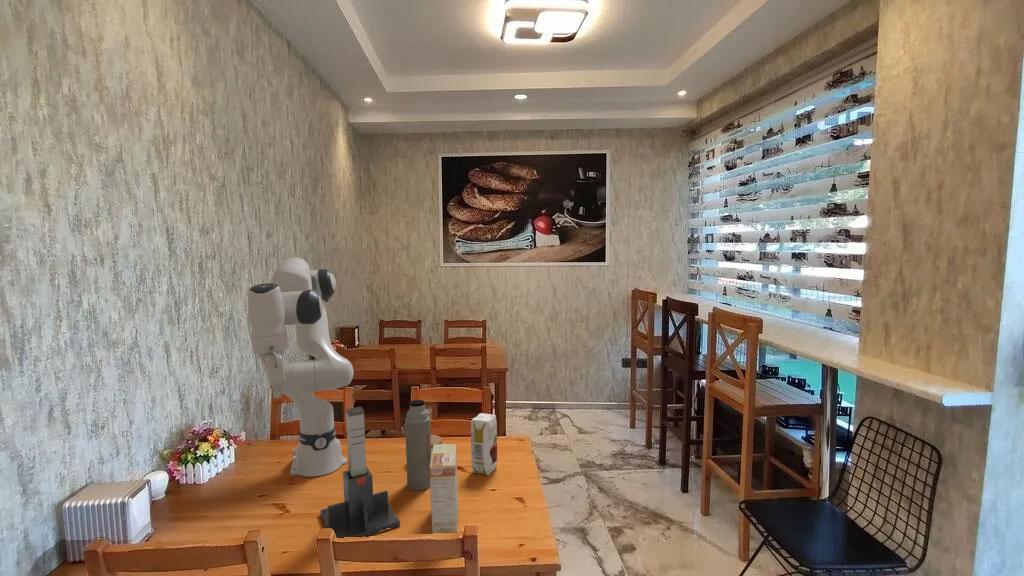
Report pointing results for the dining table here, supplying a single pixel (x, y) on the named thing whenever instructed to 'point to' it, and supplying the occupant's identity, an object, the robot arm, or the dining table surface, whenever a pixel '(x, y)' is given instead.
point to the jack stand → (360, 509)
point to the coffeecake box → (444, 488)
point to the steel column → (356, 442)
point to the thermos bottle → (418, 446)
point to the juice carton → (484, 443)
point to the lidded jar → (435, 441)
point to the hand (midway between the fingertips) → (275, 392)
